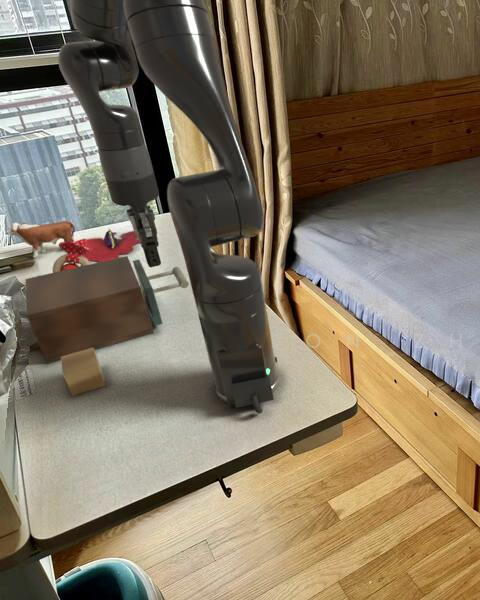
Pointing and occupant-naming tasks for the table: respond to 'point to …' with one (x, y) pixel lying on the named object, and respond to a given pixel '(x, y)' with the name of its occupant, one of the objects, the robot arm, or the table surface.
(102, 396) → the table surface
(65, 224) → the bull figurine
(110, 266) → the cabinet
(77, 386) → the beech block
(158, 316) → the drawer
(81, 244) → the bird rattle
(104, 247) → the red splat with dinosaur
